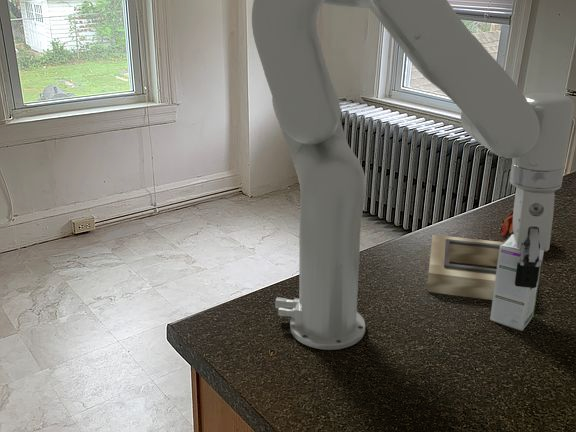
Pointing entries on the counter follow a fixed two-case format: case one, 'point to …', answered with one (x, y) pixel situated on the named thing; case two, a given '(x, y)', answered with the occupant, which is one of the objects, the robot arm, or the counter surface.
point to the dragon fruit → (507, 226)
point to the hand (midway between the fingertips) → (522, 271)
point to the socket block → (463, 266)
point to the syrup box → (512, 289)
